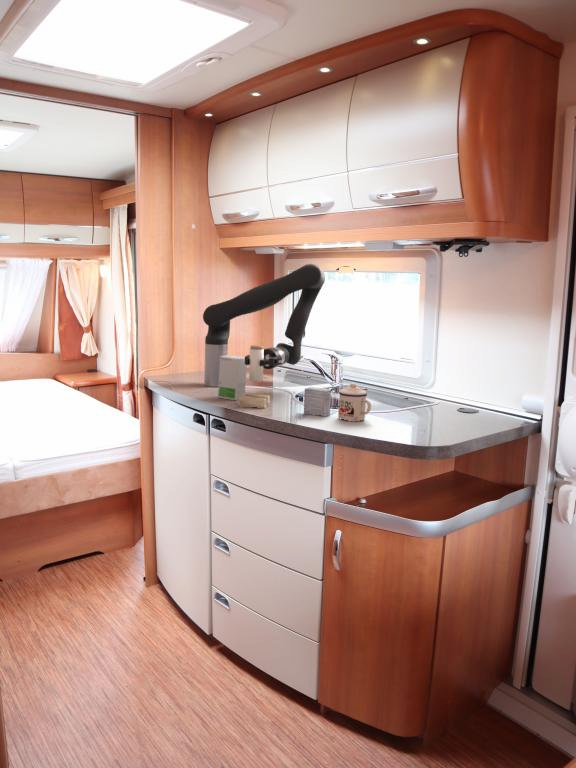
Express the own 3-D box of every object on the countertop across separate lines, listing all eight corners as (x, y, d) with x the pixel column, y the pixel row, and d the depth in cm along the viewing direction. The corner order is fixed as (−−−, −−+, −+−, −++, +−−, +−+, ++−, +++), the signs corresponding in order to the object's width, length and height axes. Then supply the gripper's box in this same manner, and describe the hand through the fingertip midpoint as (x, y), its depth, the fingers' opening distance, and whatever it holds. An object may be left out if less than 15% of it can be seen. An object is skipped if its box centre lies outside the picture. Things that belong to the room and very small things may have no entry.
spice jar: (251, 378, 217) (251, 345, 215) (264, 379, 216) (265, 345, 214) (247, 380, 212) (248, 346, 210) (261, 381, 212) (262, 347, 210)
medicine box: (330, 415, 205) (331, 389, 204) (324, 417, 201) (325, 391, 200) (309, 411, 209) (310, 386, 207) (303, 413, 205) (304, 388, 204)
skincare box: (217, 398, 226) (218, 356, 224) (227, 395, 232) (228, 354, 230) (236, 400, 222) (238, 358, 220) (246, 398, 228) (247, 356, 226)
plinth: (245, 402, 221) (245, 393, 220) (269, 403, 219) (270, 395, 219) (238, 406, 212) (239, 397, 212) (264, 408, 211) (264, 399, 210)
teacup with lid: (331, 418, 200) (333, 382, 198) (349, 414, 206) (351, 380, 204) (360, 425, 191) (362, 388, 190) (378, 421, 198) (380, 385, 196)
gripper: (254, 346, 228) (234, 350, 213) (290, 348, 224) (273, 353, 208) (253, 366, 230) (234, 371, 214) (289, 369, 225) (272, 375, 209)
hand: (253, 362), depth 211 cm, fingers closed on spice jar, 4 cm apart
